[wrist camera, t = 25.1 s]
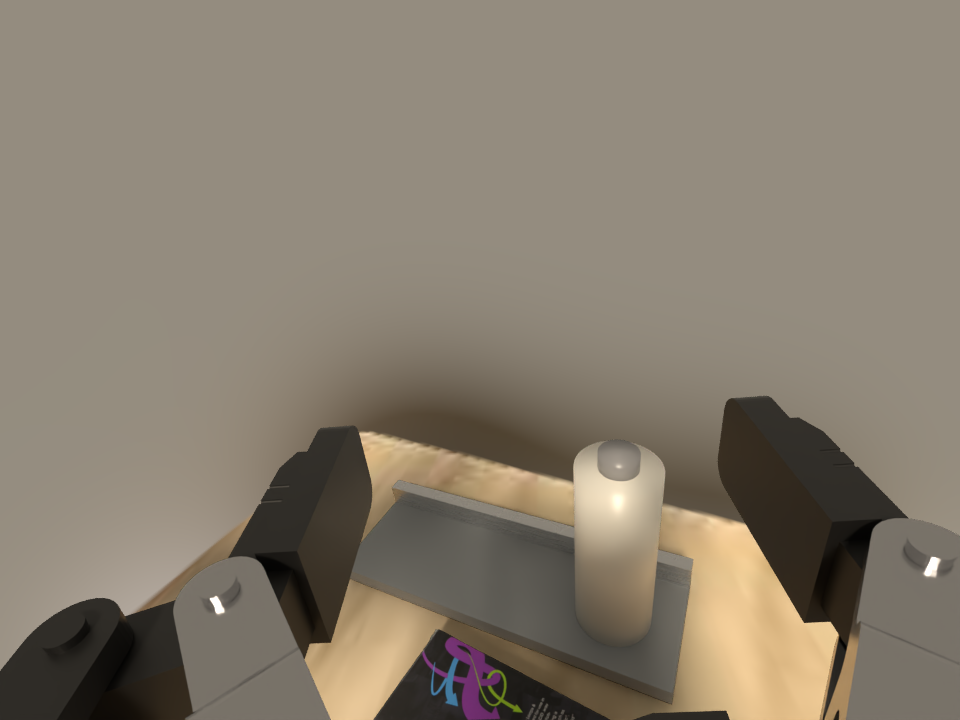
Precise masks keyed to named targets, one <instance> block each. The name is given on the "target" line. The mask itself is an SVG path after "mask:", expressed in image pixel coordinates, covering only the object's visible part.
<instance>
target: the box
mask: <svg viewBox="0 0 960 720" xmlns="http://www.w3.org/2000/svg"><path fill="white" fill-rule="evenodd" d="M478 719H507V720H610V719H608V718H606V717H604V716H602V715H600V714H598V713H596V712H594V711H592V710H590V709H589V708H587V707H585V706H583V705H581V704H579V703H577V702H575V701H573V700H571V699H570V698H568V697H566V696H564V695H562V694H560V693H558V692H556V691H555V690H553V689H551V688H549V687H547V686H545V685H543V684H541V683H539V682H537V681H535V680H533V679H532V678H530V677H528V676H526V675H524V674H522V673H521V672H519V671H517V670H515V669H513V668H511V667H509V666H507V665H505V664H503V663H501V662H499V661H498V660H496V659H494V658H492V657H490V656H488V655H486V654H484V653H482V652H480V651H478V650H476V649H474V648H473V647H471V646H469V645H467V644H465V643H463V642H461V641H459V640H458V639H456V638H454V637H453V636H451V635H449V634H447V633H445V632H443V631H442V630H440V629H439V630H435V632H434V634H433V635H432V636H431V638H430V641H429V642H428V644H427V645H426V647H425V648H424V650H423V651H422V652H421V654H420V655H419V656H418V658H417V659H416V661H415V662H414V664H413V665H412V666H411V668H410V669H409V671H408V672H407V673H406V675H405V676H404V677H403V679H402V680H401V682H400V683H399V684H398V686H397V687H396V689H395V690H394V691H393V693H392V694H391V696H390V697H389V699H388V700H387V701H386V703H385V704H384V706H383V707H382V708H381V710H380V711H379V713H378V714H377V715H376V717H375V718H374V720H478Z"/></svg>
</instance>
